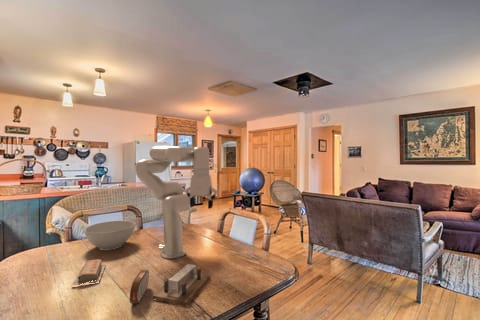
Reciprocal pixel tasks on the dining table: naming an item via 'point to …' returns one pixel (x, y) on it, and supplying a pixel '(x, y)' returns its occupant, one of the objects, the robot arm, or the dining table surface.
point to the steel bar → (182, 279)
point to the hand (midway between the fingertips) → (201, 207)
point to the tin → (139, 286)
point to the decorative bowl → (110, 233)
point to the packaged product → (90, 272)
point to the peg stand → (186, 293)
